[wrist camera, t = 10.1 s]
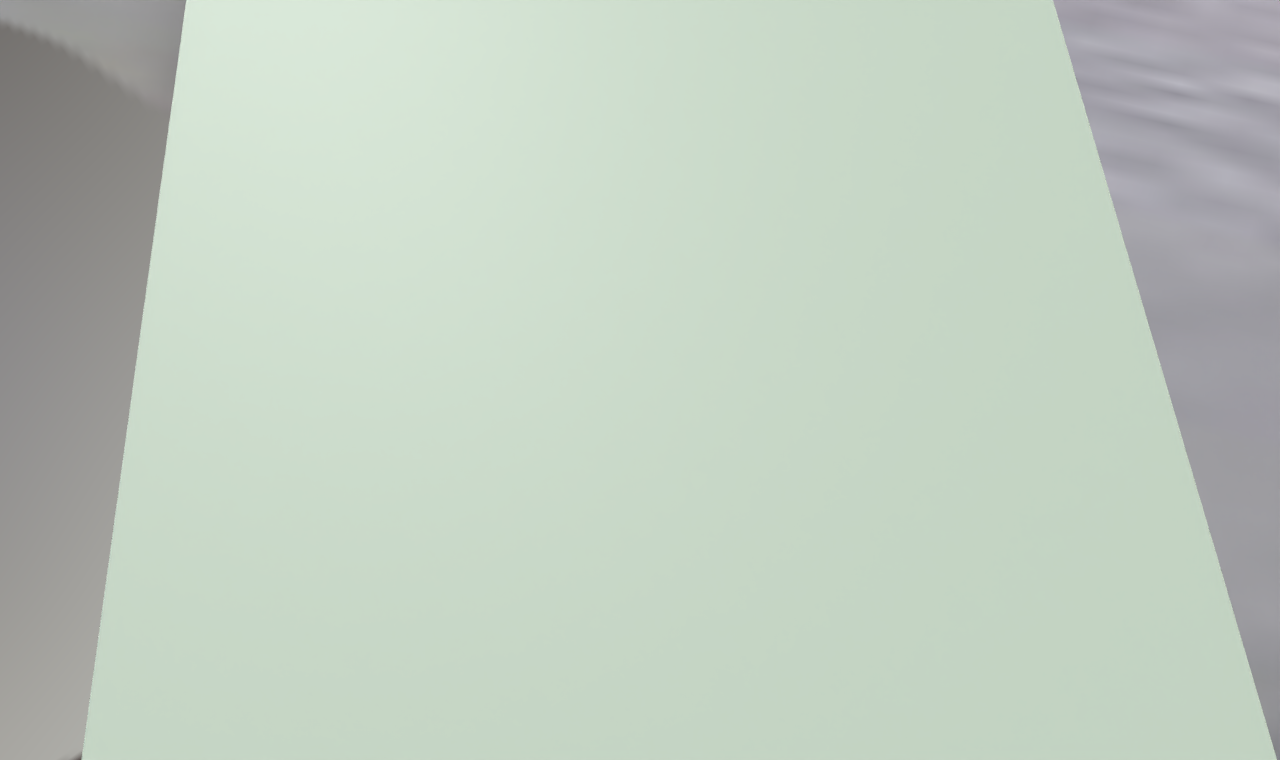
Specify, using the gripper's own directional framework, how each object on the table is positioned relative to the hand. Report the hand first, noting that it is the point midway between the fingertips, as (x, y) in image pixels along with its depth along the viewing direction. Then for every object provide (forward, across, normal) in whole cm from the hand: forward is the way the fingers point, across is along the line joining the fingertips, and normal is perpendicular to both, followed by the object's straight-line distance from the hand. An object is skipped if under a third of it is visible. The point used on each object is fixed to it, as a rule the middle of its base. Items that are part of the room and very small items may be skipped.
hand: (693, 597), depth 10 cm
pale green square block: (+2, 0, +4) cm, 5 cm away
